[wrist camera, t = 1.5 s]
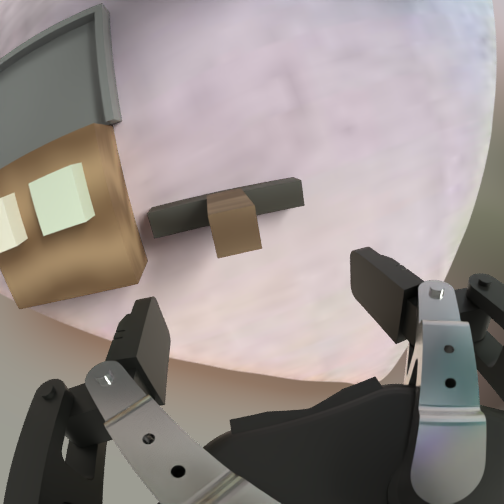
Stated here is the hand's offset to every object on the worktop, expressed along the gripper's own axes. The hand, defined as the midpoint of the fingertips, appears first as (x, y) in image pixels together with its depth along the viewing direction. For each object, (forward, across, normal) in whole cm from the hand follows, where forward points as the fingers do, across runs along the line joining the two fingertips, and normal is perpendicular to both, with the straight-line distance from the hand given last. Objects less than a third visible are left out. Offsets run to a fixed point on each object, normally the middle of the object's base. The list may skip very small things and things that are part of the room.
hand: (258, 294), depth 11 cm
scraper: (+17, 0, 0) cm, 17 cm away
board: (+17, +17, -3) cm, 24 cm away
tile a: (+12, +21, -5) cm, 25 cm away
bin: (+17, +17, -17) cm, 29 cm away
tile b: (+12, +13, -5) cm, 19 cm away
